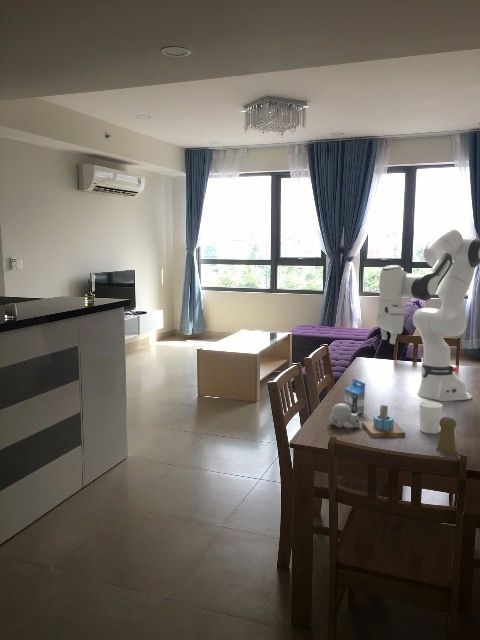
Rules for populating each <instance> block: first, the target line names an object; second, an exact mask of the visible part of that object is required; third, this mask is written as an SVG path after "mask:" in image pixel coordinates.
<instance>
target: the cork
mask: <svg viewBox="0 0 480 640" xmlns="http://www.w3.org/2000/svg"><path fill="white" fill-rule="evenodd" d="M439 424H440V429H439V435H438V441H437V445H436V451H437V452H439V453H442V454H446V455H448V454H449V455H453V454H455V452H456V453H457V446H456V435H455V430H456V427H457V420H456V419H455V418H452V417H450V416H449V417H447V416H445V417H441V419H440V422H439Z"/></svg>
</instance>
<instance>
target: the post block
mask: <svg viewBox="0 0 480 640" xmlns="http://www.w3.org/2000/svg"><path fill="white" fill-rule="evenodd" d="M379 407H380V408H379V415H380V419H383V420H385V419H387V415H388V412H389V411H388V409H389V408H388V407H389V406H388V404H380V406H379ZM361 422H362V424H361V426H362V428H363V429H364V430H365V432H367V433H368V434H369V436H370V437H371V438H397V437H399V438H402V437H404V438H405V437H406V432H405V431H404V430H403V428H401V427H400V425H398V424H397V423H396V422H395V421H394V424H393V429H391V430H380V429H376V428H375V427H374V426H373V425H374V421H361Z"/></svg>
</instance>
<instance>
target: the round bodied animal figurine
mask: <svg viewBox="0 0 480 640" xmlns="http://www.w3.org/2000/svg"><path fill="white" fill-rule="evenodd" d="M359 415H360V414H359V413H356V414H355V413H354V412H352V411H351V410H350V408H349V406H347V405H346V404H345V403H344V402H342V403H341V402H340V403H336V404H334V405H333V406H332V408H331V413H330V415H329V417H328V420H327V421H328V423H330V424H332V425H334V424H335V426H336V427H337V428H339V429H341V428H343V425H344V423H346V422H348V424H350V425H352V426H353V428H356V429H357V428H360V427H361V426H362V422H363V421H360V419H359V418H360V417H359Z"/></svg>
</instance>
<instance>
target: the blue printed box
mask: <svg viewBox="0 0 480 640" xmlns="http://www.w3.org/2000/svg"><path fill="white" fill-rule="evenodd" d="M365 391H366V383H365V382H363V381H360V380H358V379H355V378H352V384H351V385H349V386H347V387H345V389H344V404H346V405H347V406H349V408H350V410H351V413H354V414H356V413H359V414H358V415H362V414H364V413H365V394H366V392H365Z"/></svg>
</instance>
